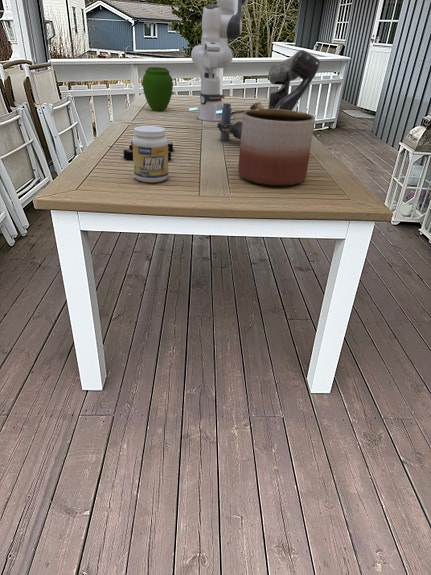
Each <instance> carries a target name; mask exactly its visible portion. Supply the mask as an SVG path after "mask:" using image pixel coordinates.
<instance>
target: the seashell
mask: <svg viewBox="0 0 431 575" xmlns="http://www.w3.org/2000/svg"><path fill="white" fill-rule="evenodd" d="M252 109H265V107H264V106H263V105H262V103H261V101H258V102H255V103H253V104H252V105H251V106H250V107H249V110H252Z"/></svg>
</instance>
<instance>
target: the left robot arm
mask: <svg viewBox="0 0 431 575" xmlns="http://www.w3.org/2000/svg"><path fill="white" fill-rule="evenodd" d="M247 1H248V0H216V4H207V5H205V6H203V9H202V17H201V31H202V34H201V39H200V40H201V41H200V42H201V43H200V44H198V45H195V46H194V47H193V48H192V50H191V53H190V57H191V60H192V63H193V64H194V65H195V66H196V68H197V71H198V72H199V76H200V94H199V102H200V104H199V111H198V116H197V119H198V120H201V121H209V122H221V120H222V107H223V103H224V101H222V99H223V100H225V98H226V96H225V94H221V79H220V77H219V76H218V75H217V74H216V73H215V71H214V70H217V69H223V68H224V69H225V68H229V67H230V66H231V64H232V63H233V56H234V55H233V51H232V50H231V48H230V47H229V42H228V40H232V41H233V40H234V41H236V40H238V39H239V38H240V37H241V35H242V32H243V22H242V21H243V20H242V19H243V18H242V16H243V6H244V5H246V2H247ZM205 73H209V77H208V78H204V74H205ZM213 73H214V78H213ZM188 109H189V111H193V110H198V107H193V108H192V107H191V108H188ZM245 111H246V110H235V111H231V120H234V117H233V116H232V115H233V114H239V113H240V114H241V113H243V112H245Z"/></svg>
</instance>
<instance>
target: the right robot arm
mask: <svg viewBox="0 0 431 575" xmlns="http://www.w3.org/2000/svg"><path fill="white" fill-rule="evenodd" d="M320 66H321V60H320V59H319V58H318V57H316V56H314V55H312V54H311V53H309V52H308V51H307V50H304V49H299V50H298V51H296V53H294V54H293V55H292V56H291V57H289V58H287V59H284V60H282V61H281V62H279V63H274V64H272V65H271V66H270V68H269V69H268V70H269V71H268V81H269V83H270V84H271V85H279V86H280V88H278V89H277V90H274V91H271V92H270V93H269V99H268V108H267V109H282V110H291V111H294V108H295V107H296V105H297V104H298V102H299V100H300V99H301V98H302V97H303V95H304V93H305V92H306V90H307V88H308V87H309V86H310V84H311V82H312V81H313V79H314V78H315V76H316V75H317V73H318V71H319V69H320ZM298 78H299V79H301V82H300V84H298V86H297V88H295V89H294V90H292V91H291V92H289V90H290V85H291V82H293V81H295V80H297V79H298ZM216 125H217V128H218V130H219V131H220V133H221V132H223V133H225V132H230V134H232V136H233V137H234V138H235V139H238V140H241V132H242V121H237V122H231V123H230V124H221V122H217V124H216Z"/></svg>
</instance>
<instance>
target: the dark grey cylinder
mask: <svg viewBox="0 0 431 575" xmlns="http://www.w3.org/2000/svg"><path fill="white" fill-rule="evenodd" d="M231 105H232V104H231V103H230V102H223V107H222V120H221V121H220V123H221V124H230V123H232V122H231V121H232V119H231V116H232V115H231V113H232V106H231ZM230 136H231V133H230V132H225V133H223V132H221V131H220V141H222V142H229V141H230Z"/></svg>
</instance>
